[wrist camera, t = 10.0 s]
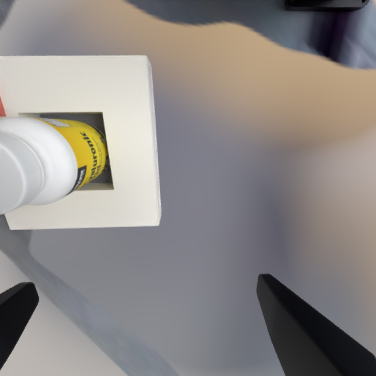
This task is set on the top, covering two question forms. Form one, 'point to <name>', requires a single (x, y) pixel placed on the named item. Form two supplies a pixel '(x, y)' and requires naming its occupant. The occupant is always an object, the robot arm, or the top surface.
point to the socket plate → (100, 118)
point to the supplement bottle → (47, 159)
